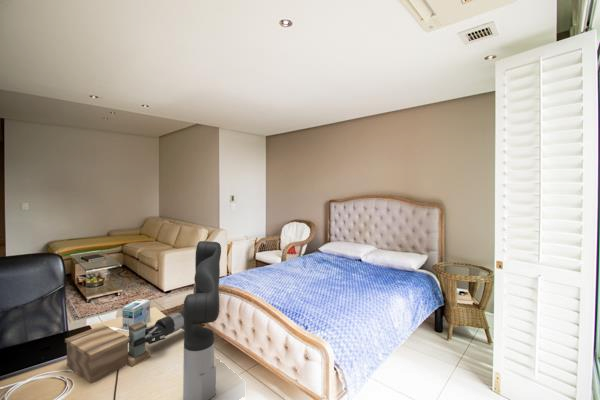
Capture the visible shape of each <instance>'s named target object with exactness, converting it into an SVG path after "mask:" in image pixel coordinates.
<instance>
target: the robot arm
mask: <svg viewBox="0 0 600 400" xmlns="http://www.w3.org/2000/svg"><path fill="white" fill-rule="evenodd" d="M221 257H222V246H221V243H220V242H217V241H207V240H201V241H200V240H199V241H198V242H197V244H196V248H195V257H194V259H195V261H194V263H195V274H194V283H195V288H194V293H189V294H187V295H186V296H185V298H184V300H183V307H182V310H179V311H177V312H175V313H172V314H169V315H167V316H166V315H165V317H162V318H159V319H158V320H157V321H155V324H153V325H149V326H148V325H147V323H146V324H145V337H142V338H140V339H138V340H136V341H134V342H133V347H137V346H139V345H141V344H143V343H144V344H145V345H146V344H148V345H152V344H155V343H158V342H160V341H163V340H165V339H166V337H168V336H170V335H171V334H173V333H176V332H177V331H179V330H180V329H182V328H183V332H184V333H183V375H182V377H183V379H182V382H183V384H182V385H183V386H182V387H183V390H182V399H183V400H209V399H210V398H211V397H212V396H213V397H214V396H215V395H216V394H217V392H216V391H217V390H216V389H217V387H216V383H217V366H216V365H214V362H215V333H214V331H213V330H212V329H210V328H207V327H204V326H201V324H202V325H203V324H210V323H211V324H212V323H214V322H216V320H217V319H218V317H219V315H220V309H221V308H220V288H219V285H220V279H221V278H220V275H221V270H220V265H221V263H220V261H221ZM127 337H129V335H128V336H127ZM128 344H129V341H128ZM213 397H212V398H213ZM212 398H211V399H212ZM211 399H210V400H211Z"/></svg>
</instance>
